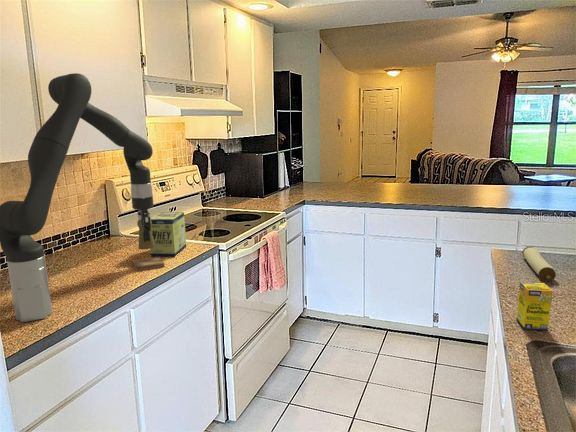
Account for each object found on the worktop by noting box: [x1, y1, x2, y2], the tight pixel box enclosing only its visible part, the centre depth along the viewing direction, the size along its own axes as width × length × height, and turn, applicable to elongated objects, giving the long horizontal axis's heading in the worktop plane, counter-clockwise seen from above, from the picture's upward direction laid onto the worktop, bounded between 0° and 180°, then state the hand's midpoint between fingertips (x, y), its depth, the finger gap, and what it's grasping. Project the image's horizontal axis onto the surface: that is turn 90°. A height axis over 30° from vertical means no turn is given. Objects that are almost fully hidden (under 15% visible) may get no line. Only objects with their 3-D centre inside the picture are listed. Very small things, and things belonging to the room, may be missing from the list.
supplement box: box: [516, 281, 553, 332], centre depth 117 cm, size 6×6×11 cm
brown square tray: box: [132, 257, 165, 272], centre depth 173 cm, size 10×10×2 cm
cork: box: [136, 218, 155, 250], centre depth 170 cm, size 6×6×11 cm
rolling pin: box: [522, 246, 557, 282], centre depth 160 cm, size 32×6×5 cm, turn 164°
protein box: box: [150, 211, 187, 258], centre depth 189 cm, size 10×16×16 cm
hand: (146, 240), depth 171 cm, fingers closed on cork, 4 cm apart
